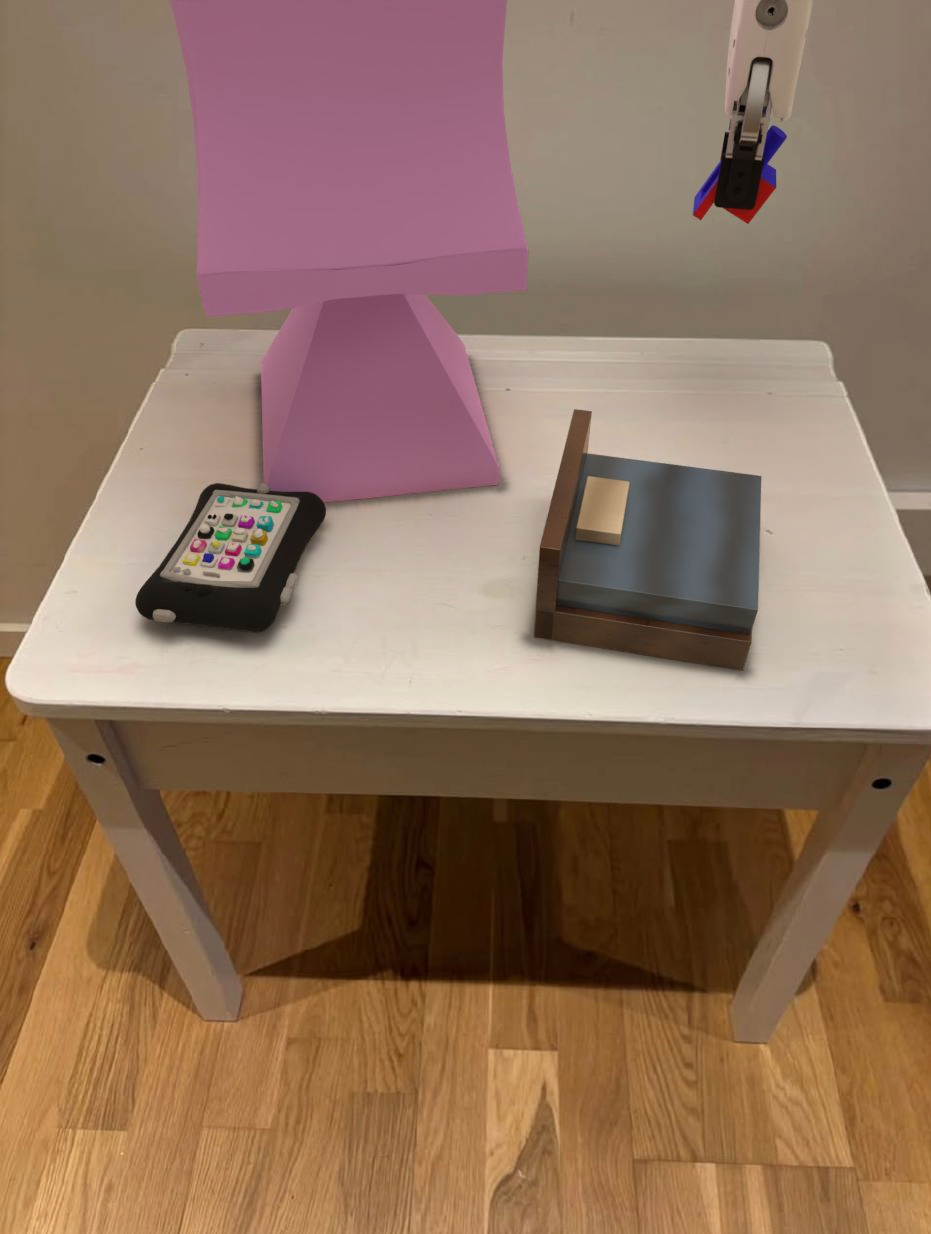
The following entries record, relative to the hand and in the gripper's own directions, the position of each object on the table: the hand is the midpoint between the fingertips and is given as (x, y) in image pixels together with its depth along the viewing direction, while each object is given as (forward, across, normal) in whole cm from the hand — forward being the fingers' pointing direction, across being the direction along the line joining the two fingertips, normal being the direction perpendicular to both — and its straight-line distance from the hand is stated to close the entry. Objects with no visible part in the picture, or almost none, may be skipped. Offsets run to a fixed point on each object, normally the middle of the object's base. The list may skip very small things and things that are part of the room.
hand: (735, 193), depth 81 cm
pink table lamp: (+18, -13, +28) cm, 36 cm away
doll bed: (+19, -27, +2) cm, 33 cm away
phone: (+19, -33, +33) cm, 51 cm away
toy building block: (+2, 0, 0) cm, 2 cm away
